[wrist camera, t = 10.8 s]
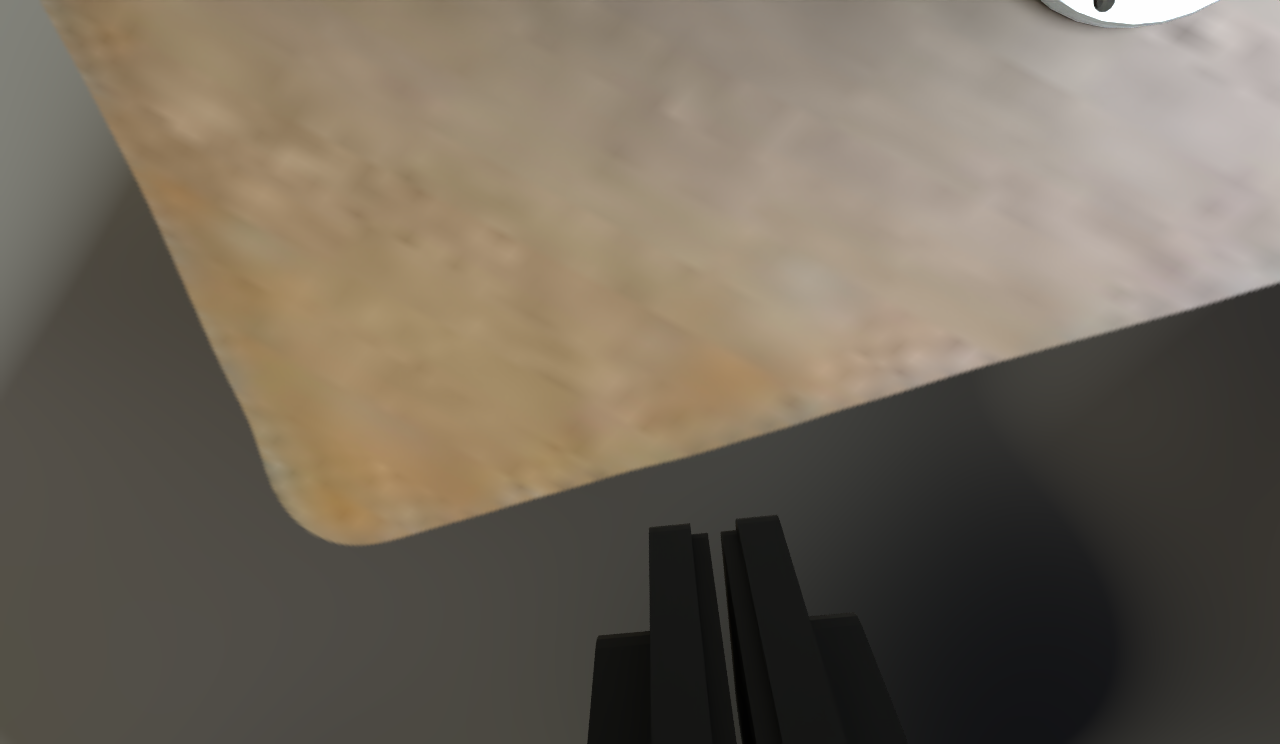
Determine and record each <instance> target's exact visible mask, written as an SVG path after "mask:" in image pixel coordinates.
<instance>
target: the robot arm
mask: <svg viewBox="0 0 1280 744" xmlns="http://www.w3.org/2000/svg"><path fill="white" fill-rule="evenodd" d="M1041 1H1042V2H1043V3H1044V4H1046V5H1047V6H1048V7H1049V8H1050V9H1052V10H1054V11H1056V12H1058V13H1060V14H1062V15H1064V16H1066V17H1068V18H1070V19H1072V20H1075V21H1077V22H1081V23H1086V24H1090V25H1094V26H1099V27H1103V28H1135V27H1142V26H1148V25H1157V24H1162V23H1166V22H1169V21H1172V20H1176V19H1179V18H1183V17H1186V16H1189V15H1192V14H1194V13H1196V12H1198V11H1200V10H1202V9H1204V8H1206V7H1208V6H1210V5H1212V4H1214V3H1216V2H1218V1H1220V0H1097V4H1096V6H1095V7H1094V5H1093V0H1041ZM721 543H722V554H723V564H724V576H725V586H726V597H727V607H728V619H729V629H730V641H731V650H732V662H733V672H734V684H735V694H736V703H737V712H738V719H739V726H740V733H741V739H742V744H908V742H907V739H906V736H905V734H904V732H903V729H902V726H901V724H900V721H899V719H898V717H897V714H896V711H895V709H894V706H893V704H892V701H891V698H890V696H889V693H888V691H887V688H886V686H885V683H884V681H883V678H882V676H881V673H880V671H879V668H878V666H877V663H876V660H875V658H874V655H873V653H872V650H871V648H870V645H869V643H868V640H867V638H866V635H865V633H864V630H863V627H862V625H861V623H860V621H859V619H858V617H857V615H856V614H854V613H841V614H831V615H820V616H810V617H809V616H808V613H807V609H806V606H805V603H804V600H803V597H802V593H801V590H800V586H799V583H798V580H797V576H796V573H795V570H794V567H793V563H792V560H791V557H790V553H789V550H788V547H787V543H786V540H785V537H784V534H783V530H782V527H781V524H780V520H779V518H778V516H777V515H772V516H760V517H751V518H741V519H736V530H733V531H723V532H721ZM649 579H650V631H645V632H634V633H624V634H613V635H601V636H598V638H597V642H596V649H595V661H594V672H593V685H592V696H591V709H590V720H589V731H588V743H587V744H737V743H736V736H735V728H734V721H733V714H732V706H731V699H730V692H729V685H728V677H727V670H726V663H725V656H724V648H723V641H722V634H721V627H720V620H719V612H718V605H717V598H716V590H715V583H714V576H713V569H712V561H711V554H710V547H709V540H708V533H702V534H691V528H690V523H689V524H679V525H668V526H659V527H650V528H649Z"/></svg>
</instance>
